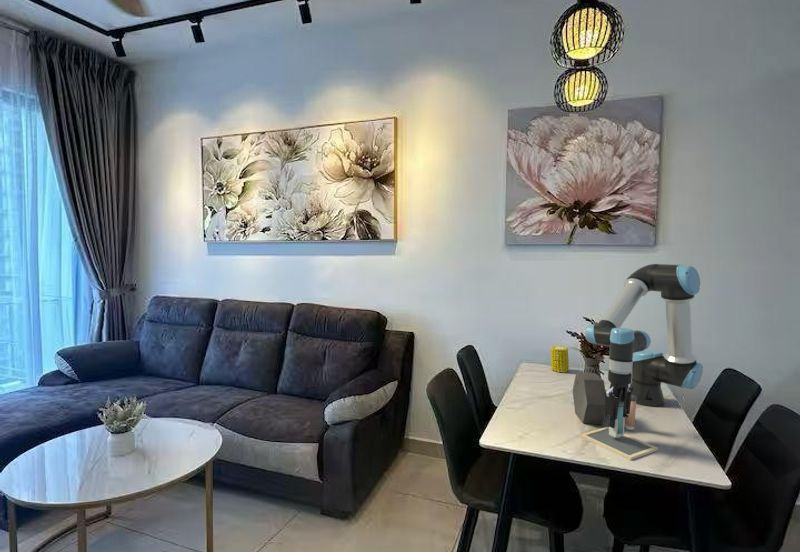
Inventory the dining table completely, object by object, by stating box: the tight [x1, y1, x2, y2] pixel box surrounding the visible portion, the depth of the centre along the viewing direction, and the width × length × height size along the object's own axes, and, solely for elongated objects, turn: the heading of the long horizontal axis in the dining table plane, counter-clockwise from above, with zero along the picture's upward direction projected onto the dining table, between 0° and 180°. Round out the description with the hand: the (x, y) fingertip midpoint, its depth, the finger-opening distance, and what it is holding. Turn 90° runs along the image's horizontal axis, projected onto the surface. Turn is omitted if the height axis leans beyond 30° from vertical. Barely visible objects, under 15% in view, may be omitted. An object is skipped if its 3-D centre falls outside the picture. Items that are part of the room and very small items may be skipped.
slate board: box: [579, 426, 659, 461], centre depth 152 cm, size 15×19×1 cm
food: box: [549, 344, 570, 373], centre depth 241 cm, size 15×12×10 cm
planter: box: [572, 371, 606, 425], centre depth 173 cm, size 17×8×21 cm
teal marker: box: [613, 400, 624, 438], centre depth 154 cm, size 4×4×13 cm
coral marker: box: [624, 395, 637, 431], centre depth 164 cm, size 4×4×13 cm
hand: (616, 434), depth 154 cm, fingers closed on teal marker, 3 cm apart
